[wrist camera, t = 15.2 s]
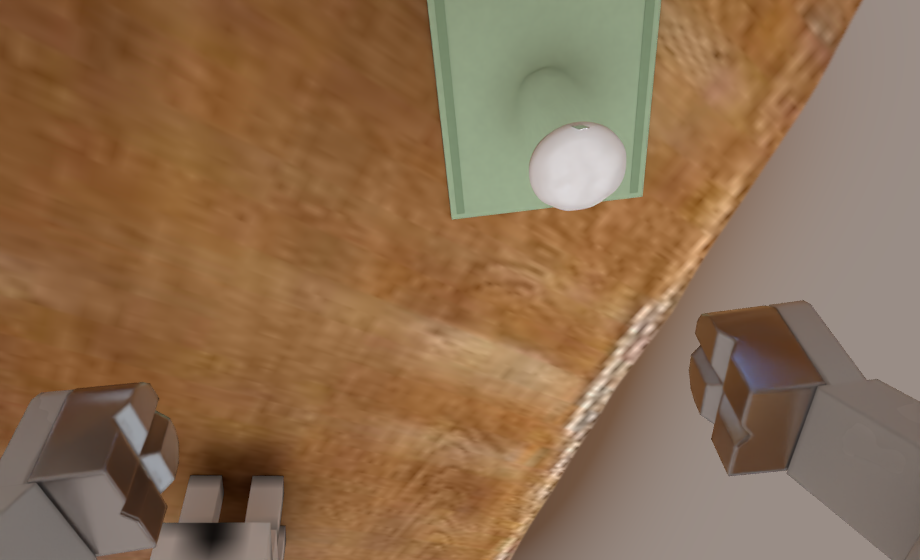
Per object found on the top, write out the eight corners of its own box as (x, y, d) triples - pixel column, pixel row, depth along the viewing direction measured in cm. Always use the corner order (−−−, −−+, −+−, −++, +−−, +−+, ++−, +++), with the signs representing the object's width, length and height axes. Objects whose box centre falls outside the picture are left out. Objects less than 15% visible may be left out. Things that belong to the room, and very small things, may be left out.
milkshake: (585, 33, 37) (639, 118, 29) (587, 125, 40) (637, 223, 32) (499, 48, 37) (531, 137, 29) (509, 138, 40) (539, 239, 32)
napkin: (420, -59, 34) (420, -57, 33) (666, -87, 34) (670, -85, 33) (451, 216, 44) (451, 220, 43) (640, 193, 44) (642, 197, 44)
